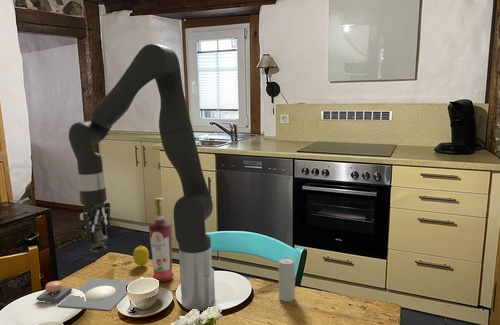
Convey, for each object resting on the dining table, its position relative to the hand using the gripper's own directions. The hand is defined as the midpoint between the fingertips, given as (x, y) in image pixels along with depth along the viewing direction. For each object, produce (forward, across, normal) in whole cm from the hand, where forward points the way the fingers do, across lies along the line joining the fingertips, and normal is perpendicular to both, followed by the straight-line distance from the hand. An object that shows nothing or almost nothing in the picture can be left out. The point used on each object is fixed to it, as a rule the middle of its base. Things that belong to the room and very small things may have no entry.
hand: (97, 239), depth 123 cm
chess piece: (+3, 0, 0) cm, 3 cm away
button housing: (+17, -6, +13) cm, 22 cm away
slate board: (+17, -2, 0) cm, 17 cm away
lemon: (+17, +19, -4) cm, 26 cm away
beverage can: (+18, +4, -58) cm, 61 cm away
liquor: (+17, +11, -16) cm, 26 cm away
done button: (+15, -6, +13) cm, 21 cm away
